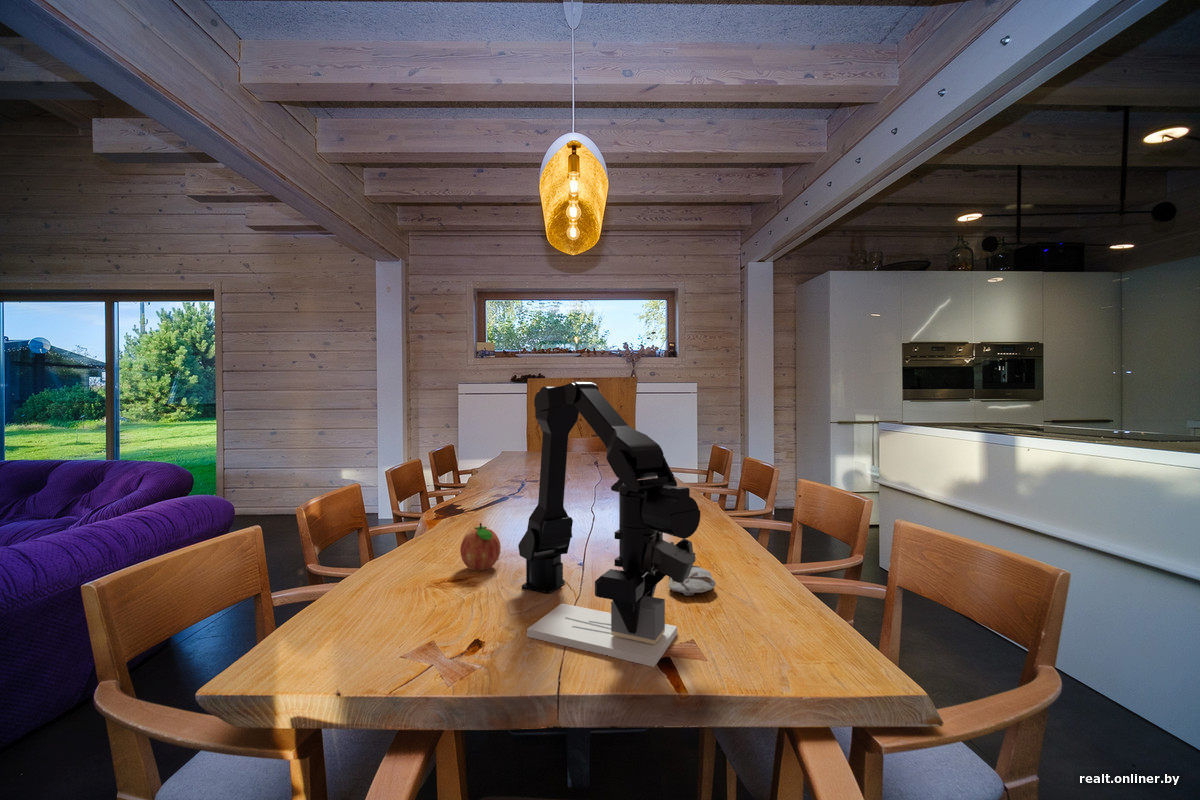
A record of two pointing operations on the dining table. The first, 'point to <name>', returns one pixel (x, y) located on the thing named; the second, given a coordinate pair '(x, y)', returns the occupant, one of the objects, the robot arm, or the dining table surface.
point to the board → (597, 635)
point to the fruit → (480, 548)
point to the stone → (694, 582)
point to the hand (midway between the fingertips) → (638, 626)
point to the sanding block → (642, 621)
